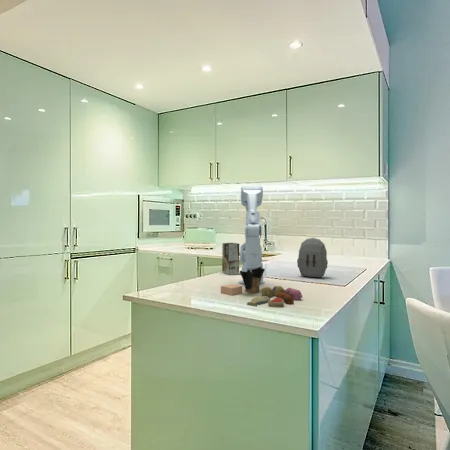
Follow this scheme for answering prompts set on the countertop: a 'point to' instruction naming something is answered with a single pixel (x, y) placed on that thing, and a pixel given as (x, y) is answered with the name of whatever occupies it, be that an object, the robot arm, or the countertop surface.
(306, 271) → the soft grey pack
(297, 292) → the toy food set
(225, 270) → the coffee box
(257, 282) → the walnut block
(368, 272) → the countertop surface
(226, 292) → the base block
